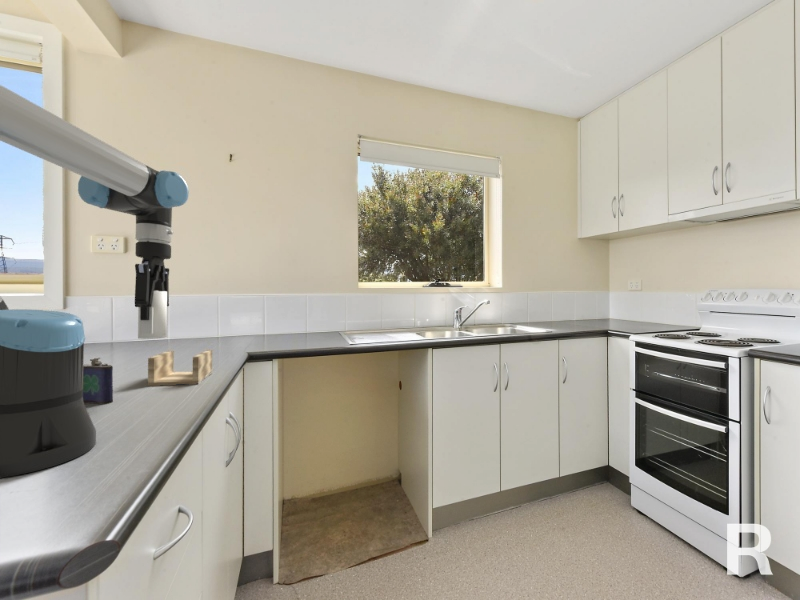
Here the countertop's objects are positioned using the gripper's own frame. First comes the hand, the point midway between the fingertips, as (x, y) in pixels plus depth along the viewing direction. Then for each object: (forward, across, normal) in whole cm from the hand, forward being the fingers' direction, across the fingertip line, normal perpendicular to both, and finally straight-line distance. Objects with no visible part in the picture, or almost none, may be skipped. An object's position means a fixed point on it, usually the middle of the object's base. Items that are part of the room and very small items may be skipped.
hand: (152, 331), depth 89 cm
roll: (+1, 0, 0) cm, 1 cm away
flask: (+17, -3, +11) cm, 20 cm away
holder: (+17, +18, -1) cm, 25 cm away
